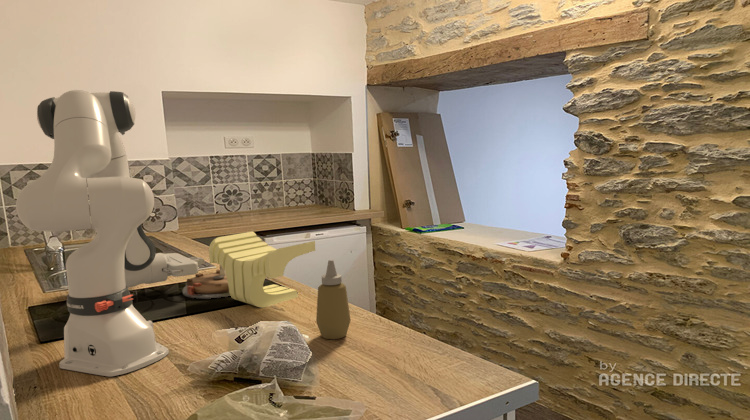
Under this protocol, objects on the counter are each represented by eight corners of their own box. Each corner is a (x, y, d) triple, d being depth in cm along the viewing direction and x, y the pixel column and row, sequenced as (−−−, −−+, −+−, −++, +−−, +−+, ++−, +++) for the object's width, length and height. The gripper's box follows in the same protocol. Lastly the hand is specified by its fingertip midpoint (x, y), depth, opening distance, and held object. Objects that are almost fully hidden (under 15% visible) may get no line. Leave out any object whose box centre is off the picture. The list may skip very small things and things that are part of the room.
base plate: (268, 284, 167) (268, 274, 166) (216, 302, 148) (215, 291, 148) (222, 276, 178) (221, 267, 178) (167, 293, 160) (166, 282, 159)
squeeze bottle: (319, 329, 124) (315, 257, 122) (352, 328, 124) (349, 256, 122) (314, 342, 116) (310, 265, 114) (349, 341, 116) (346, 264, 114)
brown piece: (236, 293, 153) (233, 248, 151) (175, 293, 155) (171, 248, 153) (258, 277, 171) (255, 236, 170) (203, 277, 174) (200, 236, 172)
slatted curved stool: (212, 296, 155) (208, 239, 152) (256, 285, 166) (253, 231, 164) (272, 316, 135) (268, 250, 132) (317, 302, 146) (314, 240, 144)
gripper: (167, 262, 148) (213, 255, 156) (148, 252, 164) (191, 246, 172) (168, 284, 149) (215, 275, 157) (150, 272, 165) (193, 264, 173)
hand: (202, 260), depth 165 cm, fingers closed
